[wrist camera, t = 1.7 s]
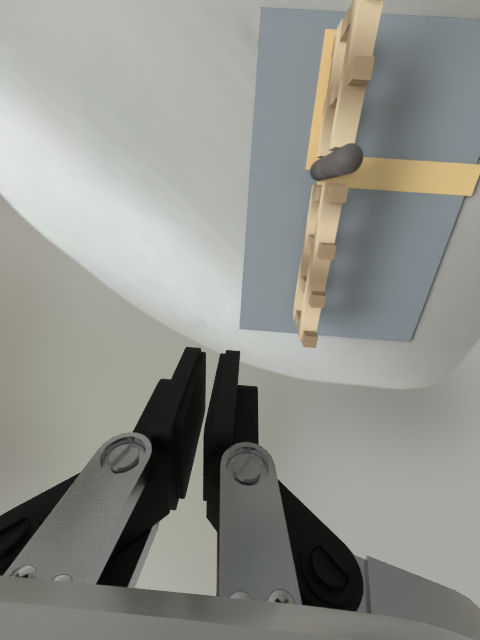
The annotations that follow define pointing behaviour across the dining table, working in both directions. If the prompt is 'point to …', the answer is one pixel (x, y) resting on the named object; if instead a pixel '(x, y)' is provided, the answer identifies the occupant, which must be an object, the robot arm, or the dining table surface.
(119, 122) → the dining table surface
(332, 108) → the fence fixed
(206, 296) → the dining table surface
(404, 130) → the card
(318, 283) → the fence gate
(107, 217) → the dining table surface
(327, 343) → the dining table surface
